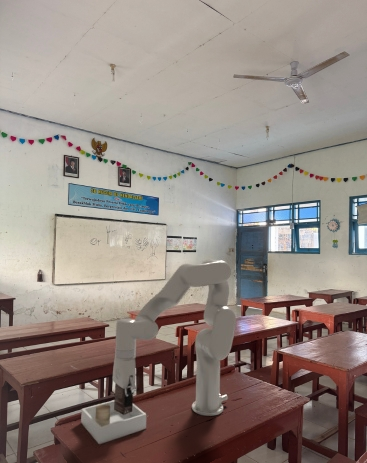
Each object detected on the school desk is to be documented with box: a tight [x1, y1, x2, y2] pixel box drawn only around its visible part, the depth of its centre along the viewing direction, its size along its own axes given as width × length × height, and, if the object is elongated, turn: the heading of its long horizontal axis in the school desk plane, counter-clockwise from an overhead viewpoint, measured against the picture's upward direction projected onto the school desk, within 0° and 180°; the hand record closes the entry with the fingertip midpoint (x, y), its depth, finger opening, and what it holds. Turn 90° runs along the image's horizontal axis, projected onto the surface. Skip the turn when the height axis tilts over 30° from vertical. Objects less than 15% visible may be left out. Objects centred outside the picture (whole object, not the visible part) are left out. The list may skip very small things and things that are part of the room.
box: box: [114, 382, 133, 415], centre depth 126 cm, size 6×4×12 cm
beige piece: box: [95, 403, 110, 427], centre depth 121 cm, size 5×5×7 cm
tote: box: [80, 399, 147, 445], centre depth 124 cm, size 18×17×5 cm
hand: (123, 401), depth 126 cm, fingers closed on box, 6 cm apart
